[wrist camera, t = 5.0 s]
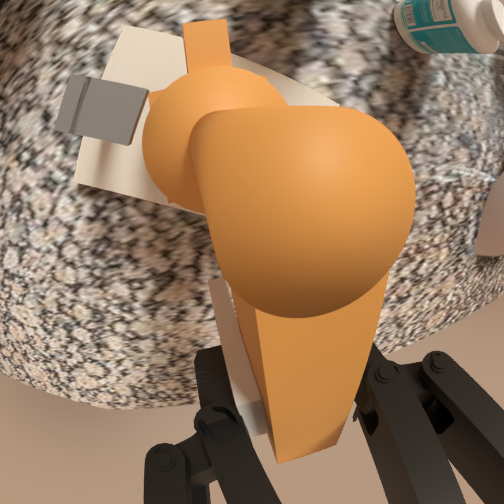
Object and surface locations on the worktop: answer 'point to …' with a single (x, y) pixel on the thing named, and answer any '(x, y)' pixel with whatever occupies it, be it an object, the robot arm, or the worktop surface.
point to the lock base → (154, 76)
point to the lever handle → (286, 227)
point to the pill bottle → (451, 25)
